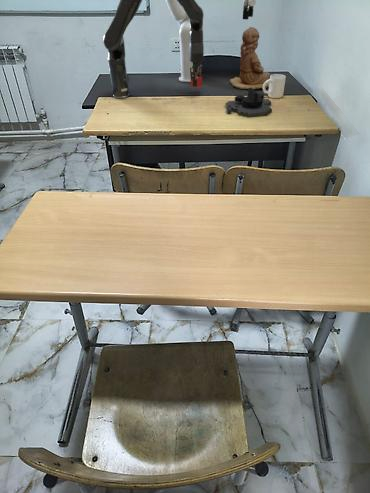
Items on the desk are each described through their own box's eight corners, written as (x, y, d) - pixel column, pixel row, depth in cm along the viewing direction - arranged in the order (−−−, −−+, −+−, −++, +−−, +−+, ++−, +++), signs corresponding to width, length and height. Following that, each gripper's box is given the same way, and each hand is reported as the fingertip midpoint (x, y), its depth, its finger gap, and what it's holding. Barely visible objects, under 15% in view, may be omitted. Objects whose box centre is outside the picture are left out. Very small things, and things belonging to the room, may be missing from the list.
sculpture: (274, 90, 207) (281, 30, 187) (232, 91, 207) (235, 31, 188) (266, 76, 228) (272, 21, 208) (228, 77, 228) (231, 23, 209)
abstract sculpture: (232, 99, 169) (222, 86, 184) (231, 118, 175) (221, 105, 190) (283, 94, 172) (268, 83, 187) (280, 114, 178) (266, 101, 193)
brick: (199, 87, 198) (199, 79, 196) (190, 86, 200) (190, 78, 197) (202, 85, 202) (202, 76, 199) (193, 84, 203) (193, 75, 201)
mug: (263, 99, 195) (266, 79, 188) (259, 94, 201) (261, 75, 194) (285, 97, 196) (288, 77, 189) (279, 93, 202) (282, 73, 196)
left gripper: (198, 54, 183) (198, 89, 194) (207, 48, 194) (207, 82, 204) (184, 53, 186) (185, 88, 197) (194, 48, 196) (194, 80, 207)
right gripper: (253, -18, 186) (250, 20, 197) (261, -21, 198) (257, 15, 209) (239, -18, 188) (237, 20, 199) (247, -21, 200) (245, 15, 211)
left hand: (196, 84), depth 201 cm, fingers closed on brick, 5 cm apart
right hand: (247, 17), depth 204 cm, fingers open, 9 cm apart
